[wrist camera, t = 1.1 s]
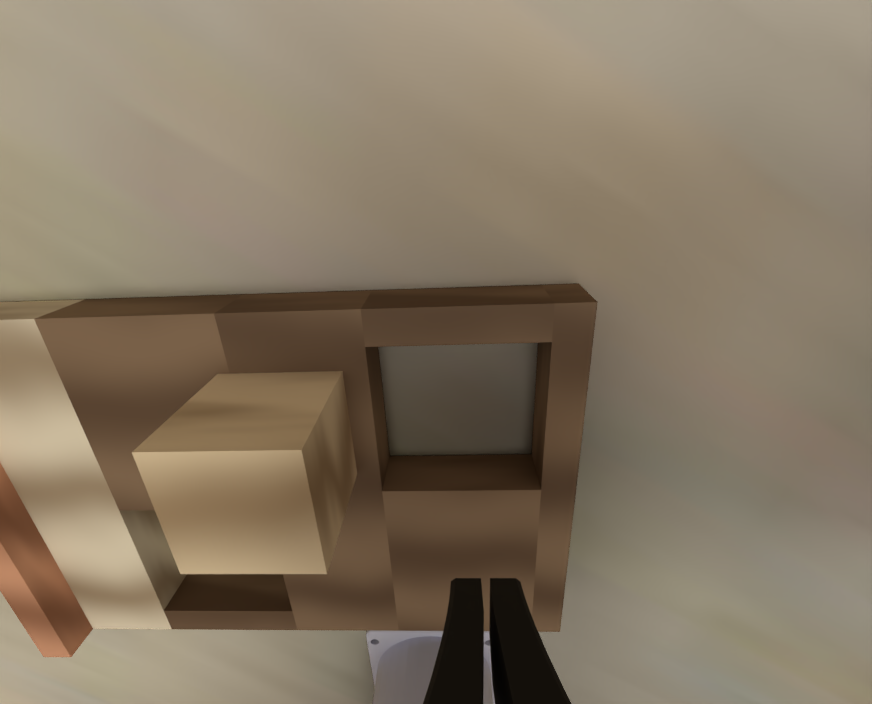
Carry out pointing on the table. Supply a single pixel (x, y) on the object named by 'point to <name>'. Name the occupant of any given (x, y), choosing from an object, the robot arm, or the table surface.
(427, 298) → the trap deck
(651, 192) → the table surface
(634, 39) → the table surface
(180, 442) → the beech block
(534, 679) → the robot arm
